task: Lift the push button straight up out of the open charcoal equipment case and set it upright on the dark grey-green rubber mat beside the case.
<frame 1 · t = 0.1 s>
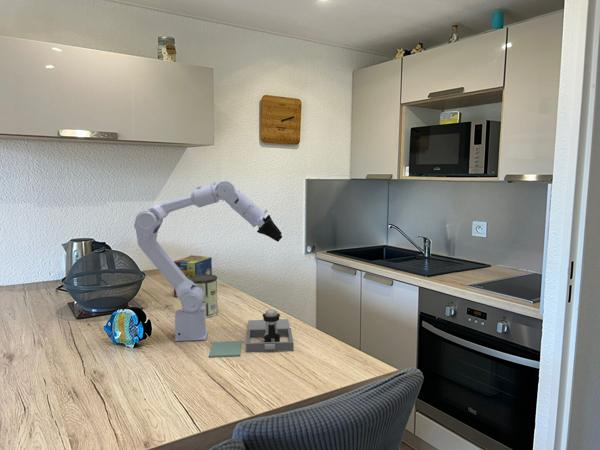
hand: (280, 237, 146), 32 cm above the table, tool tilted 50°, fingers open, 7 cm apart
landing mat: (226, 349, 136), on the table
protein box: (193, 294, 200), on the table
equipment case: (269, 343, 141), on the table
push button: (269, 344, 141), resting in equipment case
coffee can: (203, 314, 171), on the table
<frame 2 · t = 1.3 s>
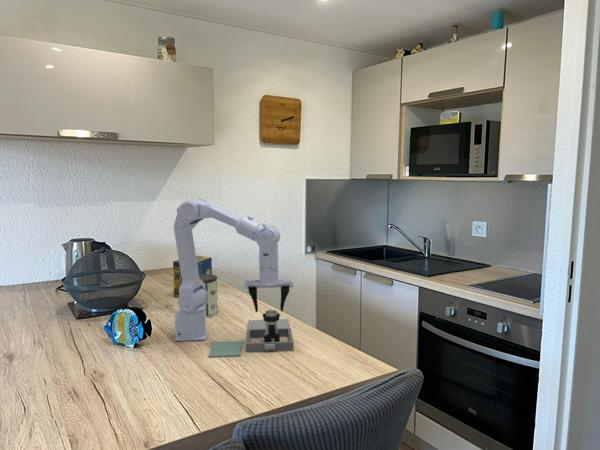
hand: (269, 310, 140), 10 cm above the table, tool pointing down, fingers open, 7 cm apart
nothing on the table moved.
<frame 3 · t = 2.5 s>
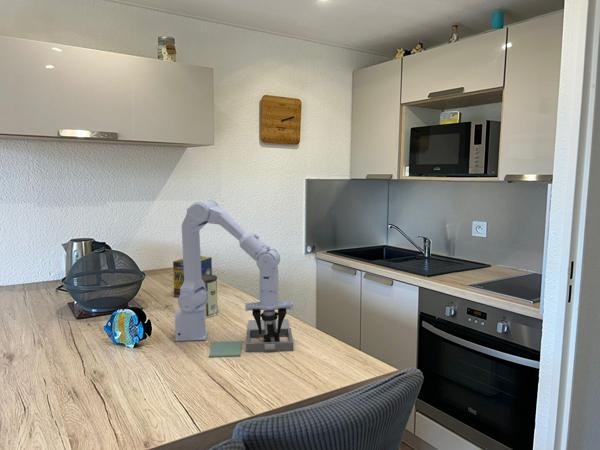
hand: (269, 332, 141), 3 cm above the table, tool pointing down, fingers closed on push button, 5 cm apart
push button: (269, 343, 141), resting in equipment case, touching gripper
everything else where it was.
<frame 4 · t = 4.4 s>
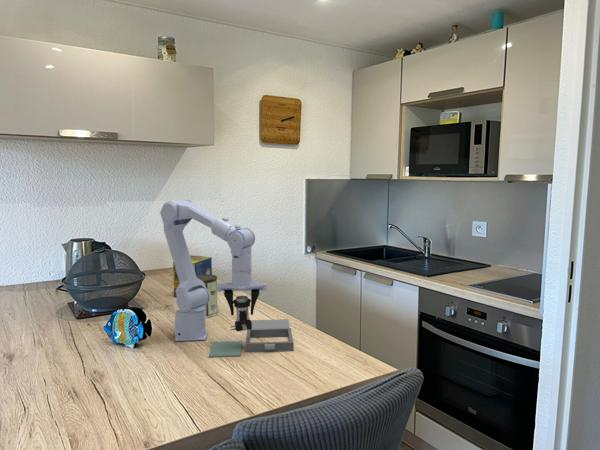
hand: (242, 314, 137), 10 cm above the table, tool pointing down, fingers closed on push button, 5 cm apart
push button: (241, 330, 138), point 5 cm above the table, touching gripper
everything else where it was.
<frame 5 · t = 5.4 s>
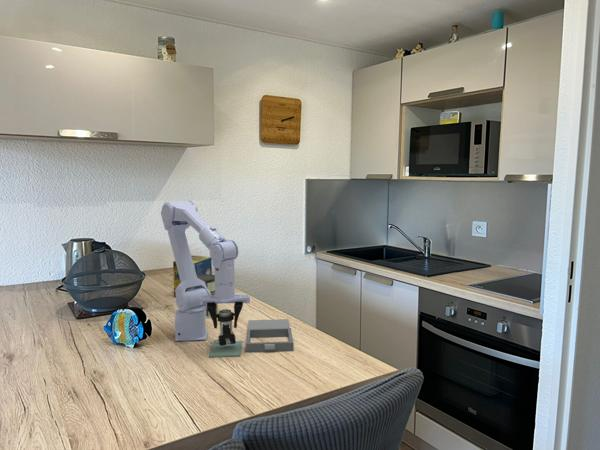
hand: (225, 327, 136), 7 cm above the table, tool pointing down, fingers closed on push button, 5 cm apart
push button: (224, 344, 136), point 1 cm above the table, touching gripper
everything else where it was.
when the fingers open (5 cm above the table, at t = 6.2 s): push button stays where it is, resting on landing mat.
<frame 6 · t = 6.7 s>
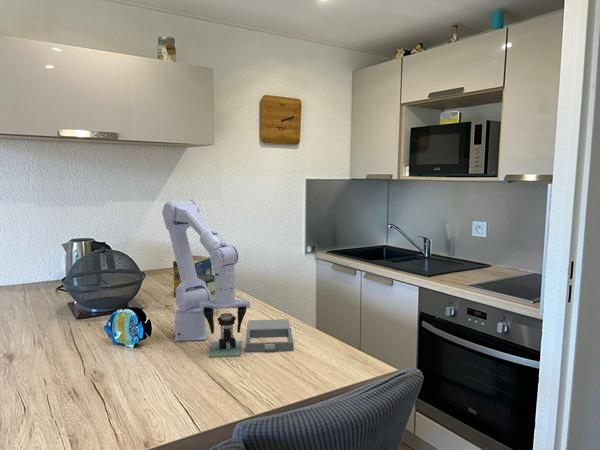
hand: (225, 332, 136), 5 cm above the table, tool pointing down, fingers open, 7 cm apart
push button: (225, 348, 137), resting on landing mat
everything else where it was.
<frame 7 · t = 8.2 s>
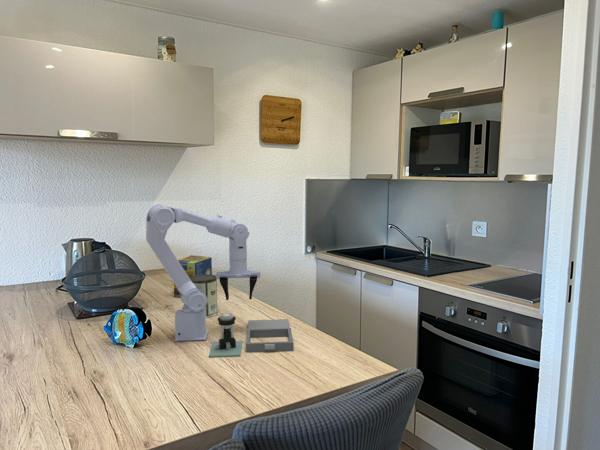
hand: (239, 298, 153), 10 cm above the table, tool pointing down, fingers open, 7 cm apart
nothing on the table moved.
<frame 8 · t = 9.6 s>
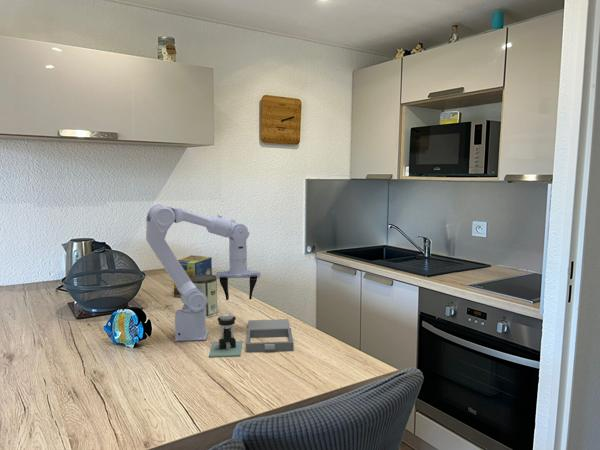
hand: (239, 298, 153), 10 cm above the table, tool pointing down, fingers open, 7 cm apart
nothing on the table moved.
at the end: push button 0.4 cm off-centre on the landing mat, point 0.3 cm above the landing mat's base; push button tilted 0°; the gripper is holding nothing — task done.
